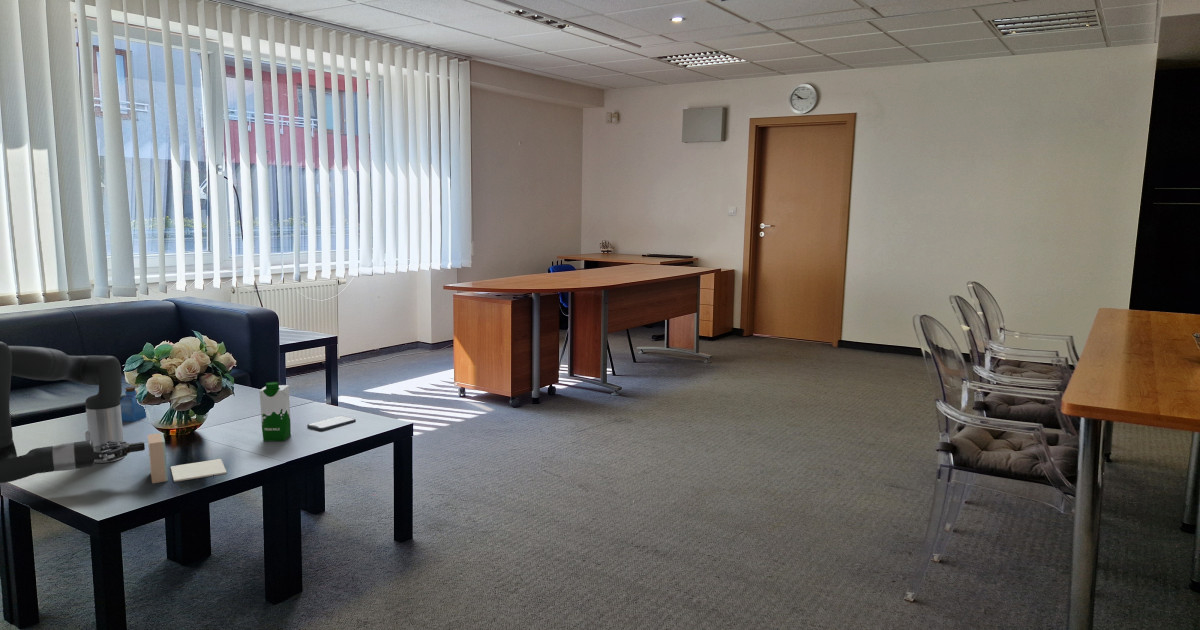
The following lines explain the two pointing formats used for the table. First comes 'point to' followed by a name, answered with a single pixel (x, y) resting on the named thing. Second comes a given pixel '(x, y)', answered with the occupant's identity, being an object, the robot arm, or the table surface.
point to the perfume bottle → (131, 406)
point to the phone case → (330, 423)
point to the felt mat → (198, 470)
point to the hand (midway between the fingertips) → (144, 446)
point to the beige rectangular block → (157, 458)
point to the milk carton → (275, 412)
